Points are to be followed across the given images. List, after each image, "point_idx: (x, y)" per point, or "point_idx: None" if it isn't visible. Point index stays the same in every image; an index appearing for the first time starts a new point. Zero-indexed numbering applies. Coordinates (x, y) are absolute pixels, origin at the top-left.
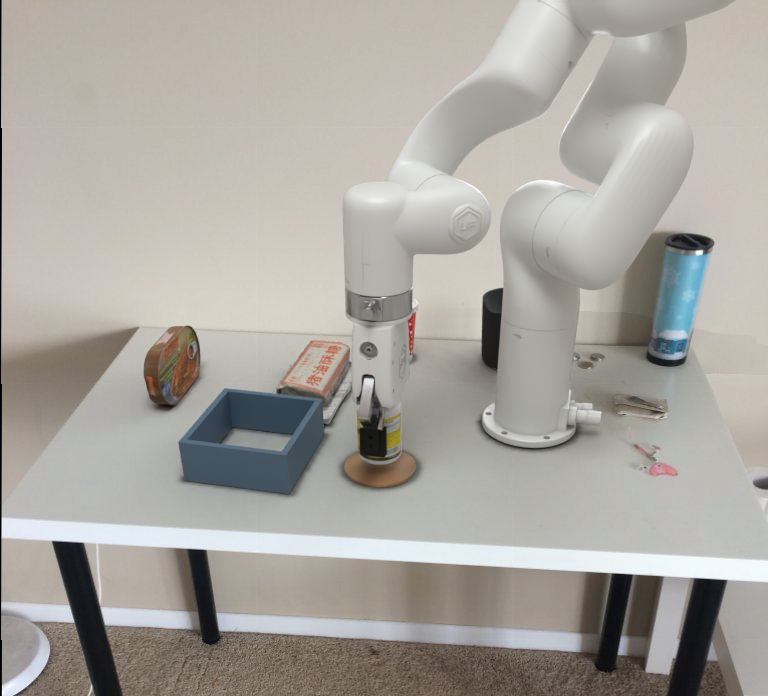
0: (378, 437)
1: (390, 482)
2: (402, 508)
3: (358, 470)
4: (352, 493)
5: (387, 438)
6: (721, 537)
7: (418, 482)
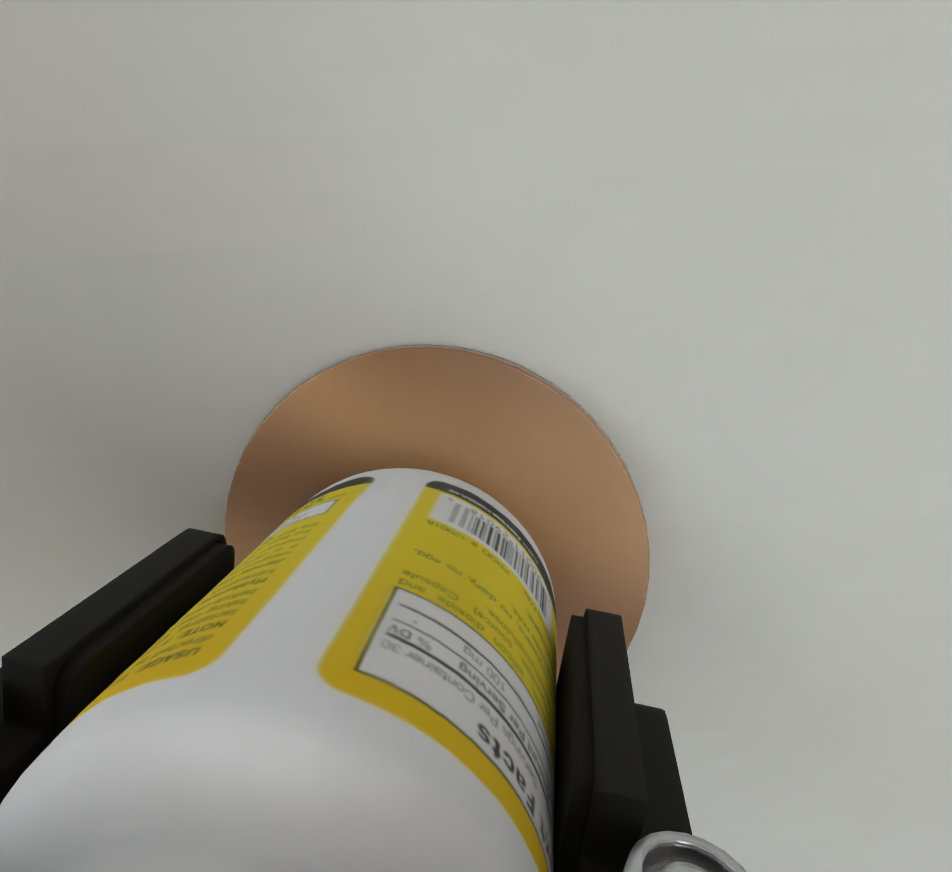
0: (653, 793)
1: (622, 498)
2: (883, 410)
3: None
4: (707, 690)
5: (534, 666)
6: None
7: (577, 322)
